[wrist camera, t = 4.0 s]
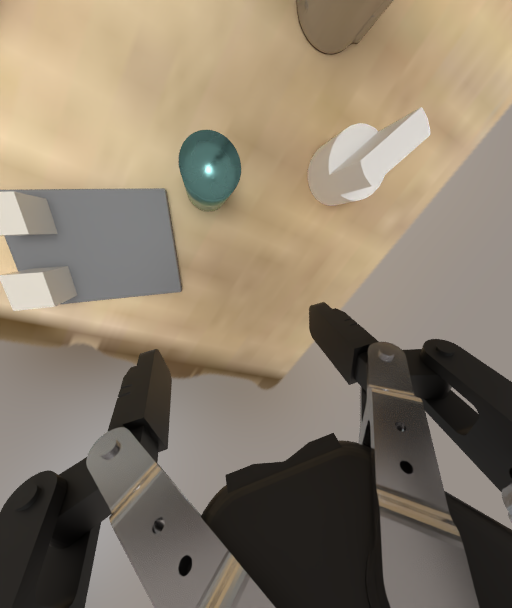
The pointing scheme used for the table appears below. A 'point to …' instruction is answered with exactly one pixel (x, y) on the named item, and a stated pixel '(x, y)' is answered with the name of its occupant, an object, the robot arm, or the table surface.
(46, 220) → the cream cube
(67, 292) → the cream cube
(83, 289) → the slate board
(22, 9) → the table surface
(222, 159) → the teal glass cylinder
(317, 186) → the base with upright slab
